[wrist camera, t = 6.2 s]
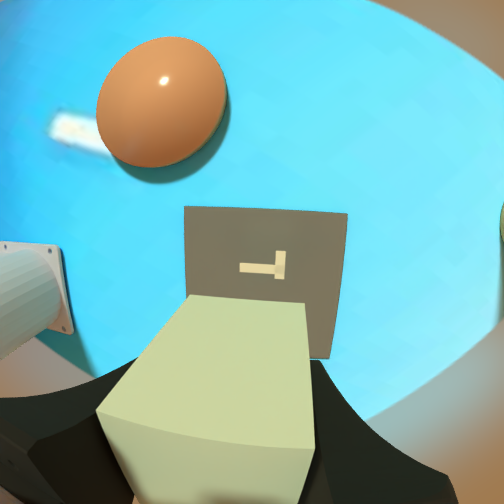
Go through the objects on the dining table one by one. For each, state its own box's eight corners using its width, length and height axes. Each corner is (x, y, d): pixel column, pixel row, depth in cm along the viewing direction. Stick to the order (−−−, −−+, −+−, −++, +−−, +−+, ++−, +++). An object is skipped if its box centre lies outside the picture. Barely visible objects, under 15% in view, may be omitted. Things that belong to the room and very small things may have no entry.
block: (195, 382, 13) (139, 503, 6) (189, 294, 12) (95, 410, 5) (293, 392, 12) (287, 529, 6) (304, 303, 11) (315, 448, 5)
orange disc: (101, 171, 19) (93, 171, 18) (111, 55, 16) (104, 51, 16) (224, 166, 18) (221, 165, 17) (230, 35, 16) (227, 29, 15)
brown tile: (190, 345, 21) (189, 346, 21) (185, 206, 19) (184, 206, 18) (329, 356, 20) (329, 358, 20) (347, 213, 17) (347, 213, 17)
